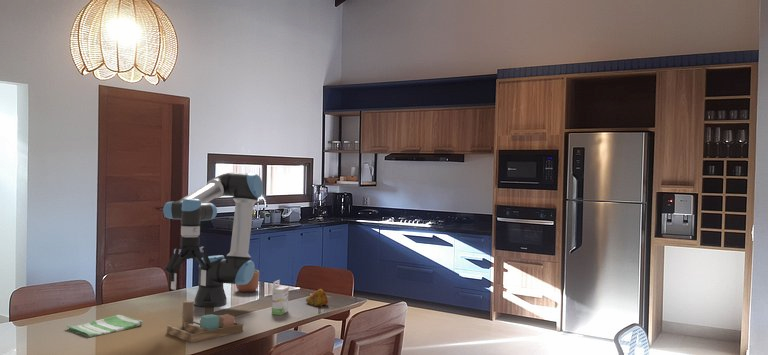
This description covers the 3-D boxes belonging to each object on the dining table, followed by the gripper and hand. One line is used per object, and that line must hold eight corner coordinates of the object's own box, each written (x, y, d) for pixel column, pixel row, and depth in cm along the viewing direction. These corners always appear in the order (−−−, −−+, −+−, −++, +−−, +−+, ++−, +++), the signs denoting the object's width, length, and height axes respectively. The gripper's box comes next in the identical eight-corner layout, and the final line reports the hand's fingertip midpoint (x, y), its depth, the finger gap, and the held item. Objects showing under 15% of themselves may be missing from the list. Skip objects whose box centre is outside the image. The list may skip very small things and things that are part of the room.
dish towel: (65, 330, 233) (65, 323, 233) (120, 319, 252) (120, 313, 252) (88, 339, 223) (88, 332, 223) (144, 327, 242) (144, 320, 242)
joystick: (179, 326, 243) (180, 301, 243) (190, 323, 247) (191, 300, 247) (207, 336, 229) (208, 310, 229) (218, 333, 233) (219, 308, 233)
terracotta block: (216, 330, 238) (216, 315, 238) (226, 328, 242) (227, 314, 242) (223, 333, 235) (223, 318, 235) (234, 330, 239) (234, 316, 239)
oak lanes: (166, 333, 232) (167, 325, 232) (217, 323, 250) (217, 316, 249) (191, 342, 220) (191, 334, 220) (242, 331, 238) (242, 324, 238)
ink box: (281, 315, 267) (282, 282, 267) (271, 314, 268) (272, 282, 268) (288, 311, 275) (289, 279, 275) (278, 310, 276) (279, 279, 276)
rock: (309, 314, 288) (301, 296, 293) (321, 313, 294) (313, 297, 300) (322, 300, 284) (315, 283, 289) (334, 301, 290) (327, 284, 295)
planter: (235, 289, 322) (235, 269, 322) (258, 288, 325) (258, 269, 325) (235, 293, 310) (235, 273, 310) (259, 293, 313) (259, 272, 313)
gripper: (166, 238, 231) (165, 292, 231) (221, 235, 250) (219, 285, 250) (157, 237, 236) (155, 289, 236) (211, 234, 255) (209, 282, 255)
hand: (188, 287), depth 243 cm, fingers open, 13 cm apart
